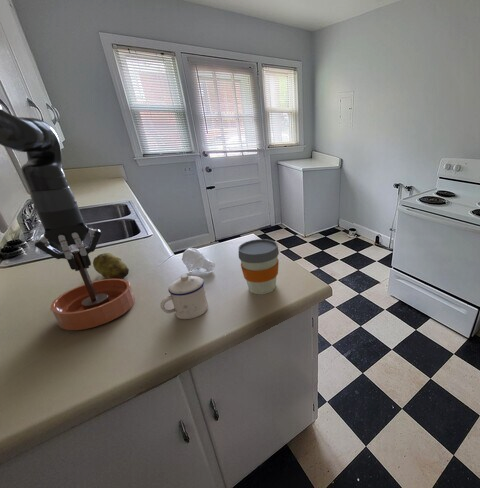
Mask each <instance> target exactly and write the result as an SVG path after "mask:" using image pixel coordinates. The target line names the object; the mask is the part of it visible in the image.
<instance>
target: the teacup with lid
mask: <svg viewBox="0 0 480 488" xmlns="http://www.w3.org/2000/svg"><path fill="white" fill-rule="evenodd" d="M168 293H169V296H167V297H165V298H163V299H162V300H161V301H160V309H161V310H162V312H164V313H166V314H174V313H175V315H176V317H177V318H179V319H181V320H191V319H196V318H197V317H201V316H202V315H203V314H204V313H205V312H207V310H208V309H209V303H208V299H207V294H206V288H205V280H204V279H203V278H202V277H200V276H196V275H188V274H182V275H181V276H180V278H178V279H176V280H174V281H173V282H171V283H170V285H169V286H168ZM170 300H171V301H172V305H173V308H172V309H171V308H170V309H166V308H165V305H166V303H167V302H168V301H170Z"/></svg>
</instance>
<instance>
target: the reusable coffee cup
mask: <svg viewBox="0 0 480 488" xmlns="http://www.w3.org/2000/svg"><path fill="white" fill-rule="evenodd" d="M279 254H280V251H279V247H278V243H277V242H276V241H275V240H272V239H267V238H265V239H264V238H259V239H258V238H257V239H252V240H251V239H250V240H248V241H245V242H243V243H241V244H240V245H239V246H238V259H239V260H240V269H241V272H242V275H243V278H244V279H245V280H246V283H247V287H248V290H249V292H250V293H251V294H253V295H265V294H269V293H271V292H273V291H274V290H275V289H276V288H277V276H278V275H279V264H280V263H279V261H280V260H279V258H278V256H279Z"/></svg>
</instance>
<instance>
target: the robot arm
mask: <svg viewBox="0 0 480 488" xmlns="http://www.w3.org/2000/svg"><path fill="white" fill-rule="evenodd" d="M0 146H3V147H5V148H7V149H10V150H12V151H16V152H18V153H19V152H20V153H26V157H27V162H26V163H24V164H23V165H22V166H21V167H20V172H21V175H22V178H23V180H24V182H25V185H26V186H27V189H28V191H29V195H30V199H31V202H32V204H33V208H34V210H35V212H36V213H37V216H38V218H39V220H40V223H41V225H42V227H43V230H44V233H43V236H42V237H41V238H40V239H36V240H35V241H34V247H36V248H38V249H39V250H40V251H42V252H44V253H46V254H48V255H49V256H51V257H52V258H54V259H55V260H61V259H62V260H63V259H64V260H66V261H67V263H68V265H69V267H70V269H71V270H72V271H75V272H78V271H79V269H78V266H77V264H76V261H75V259H74V257H73V254H72V253H73V252H72V250H71V247H70V246H72V245H76V247H77V249H78V251H80V254H81V258H82V260H83V263H84V265H85V268H86V269H87V270H88V269H90V266H92V261H91V259H90V256H89V254H90V253H94V252H95V250H96V248H97V246H98V243H99V241H100V238H101V235H102V232H101V230H100V229H99V228H96V229H95V228H90V227H89V226H88V225H87V224H86V222H85V221H84V218H83V216H82V213H81V211H80V208H79V205H78V201H77V200H76V196H75V195H74V193H73V191H72V189H71V188H70V185H69V182H68V180H67V176H66V174H65V172H64V169H63V157H62V149H61V148H62V147H61V142H60V139H59V137H58V134H57V132H56V130H54V128H53V127H52V126H51V125H50V124H49V123H47V122H46V121H44V120H42V119H40V118H35V117H23V116H21V117H20V116H16V115H13V114H11V113H9V112H7V111H5V110H3V107H2V105H0ZM88 233H89V237H90V241H89V243H88V246H87V247H86V246H85V244H84V240H85V238H86V237H87V235H88ZM51 242H52V243H54V244H55V245H58V246H59V247H61V249H62V251H60V250H58V249H57V248H55V247H53V246H51V245H50V243H51ZM79 272H80V271H79Z"/></svg>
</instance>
